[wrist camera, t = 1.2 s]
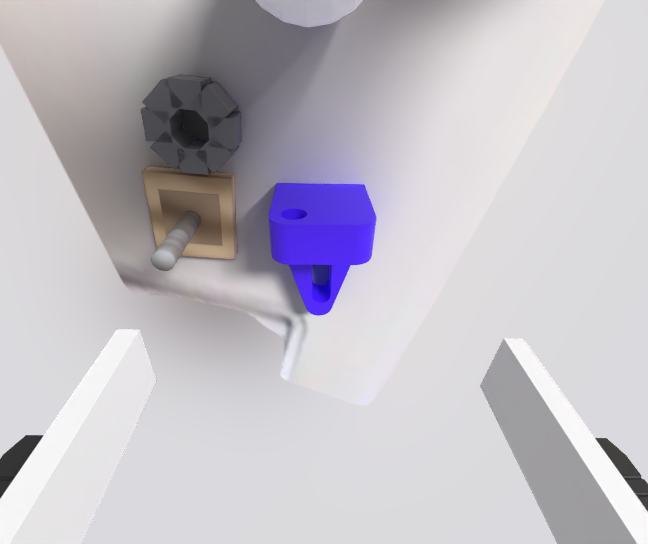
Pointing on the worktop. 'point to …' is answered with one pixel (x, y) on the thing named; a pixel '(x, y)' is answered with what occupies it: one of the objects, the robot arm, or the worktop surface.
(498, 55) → the worktop surface
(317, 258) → the bracket
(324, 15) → the bottle
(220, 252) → the peg base board
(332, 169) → the worktop surface
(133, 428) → the robot arm
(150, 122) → the dark grey gear
